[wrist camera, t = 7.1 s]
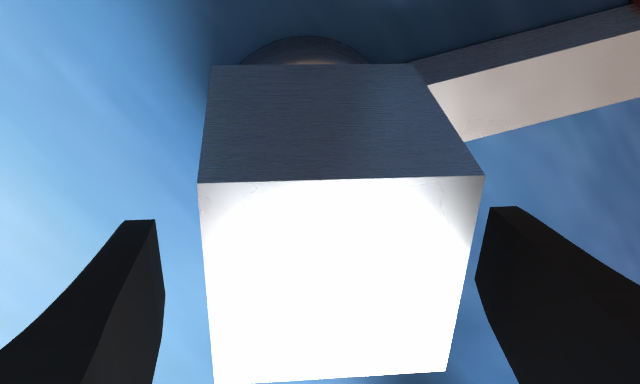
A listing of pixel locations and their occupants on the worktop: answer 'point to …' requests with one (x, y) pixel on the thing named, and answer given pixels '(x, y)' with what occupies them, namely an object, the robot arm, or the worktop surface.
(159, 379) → the worktop surface
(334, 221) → the brushed white cube
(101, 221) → the worktop surface
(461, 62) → the ratchet
